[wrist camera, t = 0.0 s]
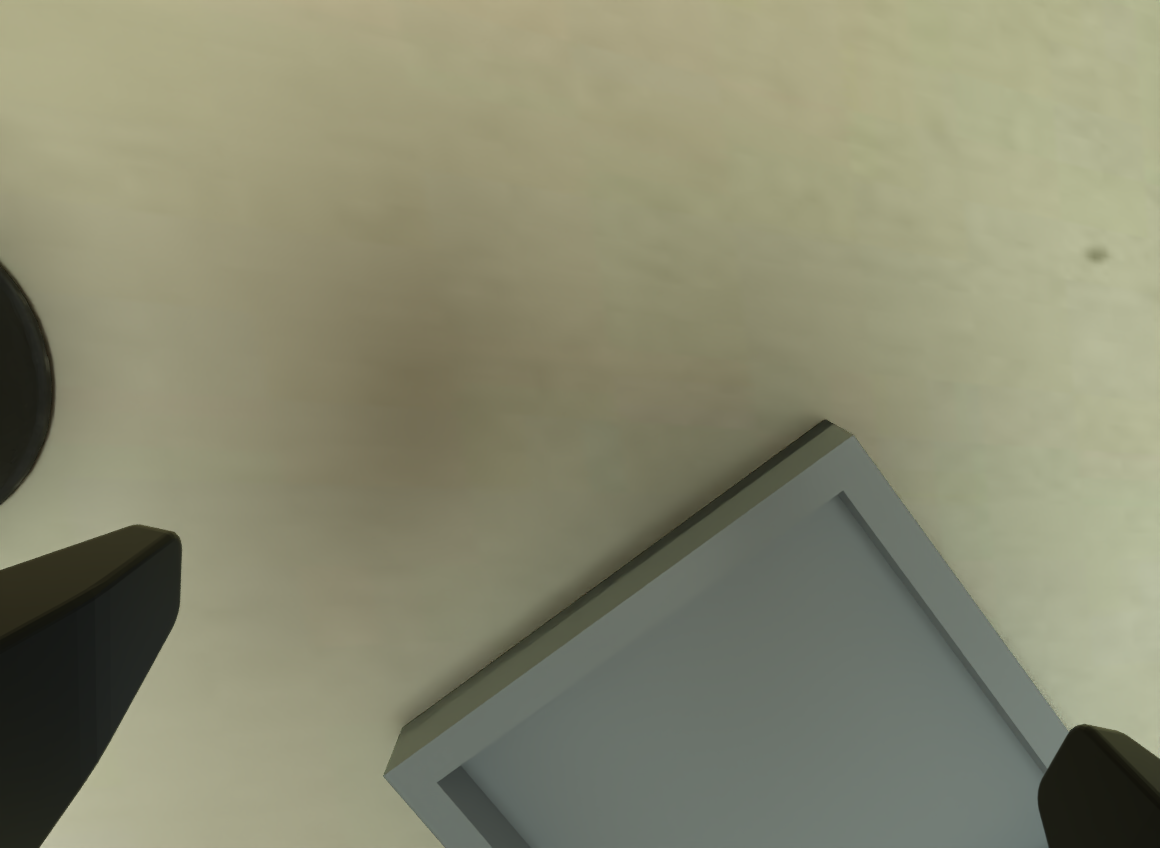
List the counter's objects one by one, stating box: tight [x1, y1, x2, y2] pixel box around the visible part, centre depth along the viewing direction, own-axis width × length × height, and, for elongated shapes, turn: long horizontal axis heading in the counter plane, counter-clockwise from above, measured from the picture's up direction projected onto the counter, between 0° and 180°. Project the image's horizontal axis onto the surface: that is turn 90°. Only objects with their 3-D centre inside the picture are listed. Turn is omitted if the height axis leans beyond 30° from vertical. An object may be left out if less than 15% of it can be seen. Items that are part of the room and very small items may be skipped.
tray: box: [383, 420, 1069, 848], centre depth 24 cm, size 15×15×2 cm
